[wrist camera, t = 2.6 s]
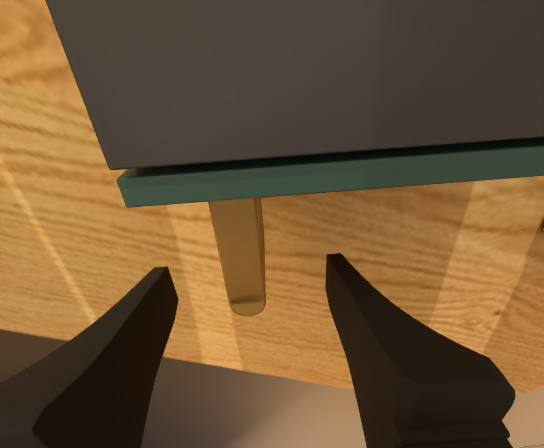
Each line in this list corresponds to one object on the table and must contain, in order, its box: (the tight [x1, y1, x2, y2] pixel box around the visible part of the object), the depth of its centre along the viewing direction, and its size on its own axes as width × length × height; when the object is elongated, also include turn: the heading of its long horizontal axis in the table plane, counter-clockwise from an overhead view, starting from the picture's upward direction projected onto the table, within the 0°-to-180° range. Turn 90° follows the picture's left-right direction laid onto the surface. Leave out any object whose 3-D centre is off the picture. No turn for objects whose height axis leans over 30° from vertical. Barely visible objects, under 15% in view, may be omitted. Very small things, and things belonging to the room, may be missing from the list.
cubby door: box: [117, 137, 544, 316], centre depth 12 cm, size 6×16×8 cm, turn 94°
